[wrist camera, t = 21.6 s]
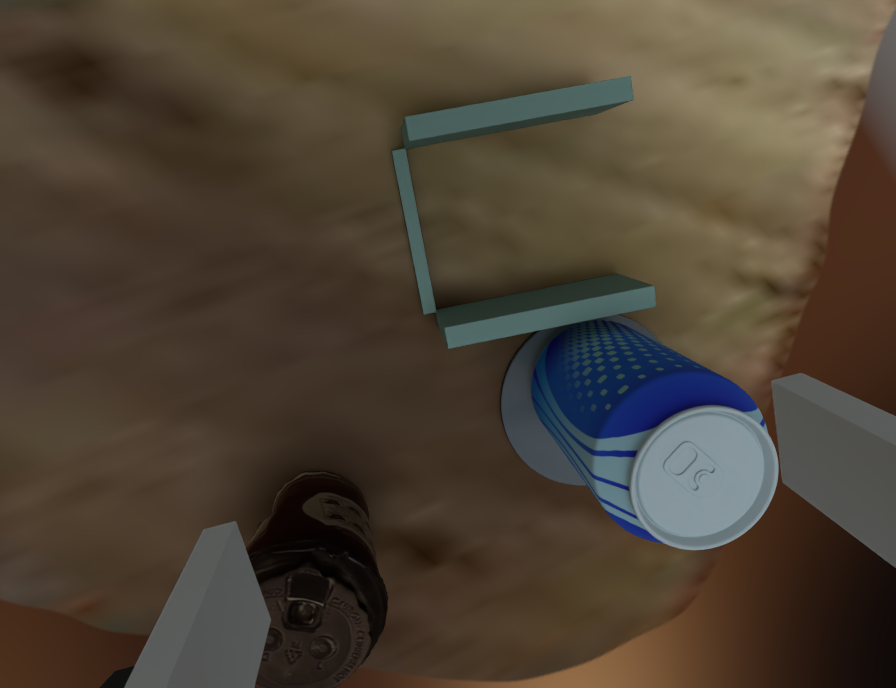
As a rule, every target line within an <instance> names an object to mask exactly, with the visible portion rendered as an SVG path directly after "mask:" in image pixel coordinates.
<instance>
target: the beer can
mask: <svg viewBox="0 0 896 688" xmlns="http://www.w3.org/2000/svg"><path fill="white" fill-rule="evenodd" d="M531 395H532V401H533V405H534V409H535V411H536V413H537V416H538V417H539V419H540V421H541V422H542V424H543V425H544V426H545V428H546V429H547V431H548V432H549V433H550V435H551V436H552V437H553V439H554V440H555V442H556V443H557V444H558V446H559V447H560V448H561V450H562V451H563V453H564V454H565V455H566V457H567V458H568V460H569V461H570V462H571V464H572V465H573V466H574V468H575V469H576V471H577V472H578V473H579V475H580V476H581V478H582V479H583V480H584V482H585V483H586V484H587V486H588V487H589V489H590V490H591V491H592V493H593V494H594V496H595V497H596V498H597V500H598V501H599V502H600V504H601V505H602V507H603V508H604V509H605V511H606V512H607V513H608V515H609V516H610V517H611V518H612V519H613V520H614V521H615V522H616V523H617V524H619V525H620V526H621V527H622V528H624V529H625V530H627V531H628V532H630V533H632V534H634V535H636V536H638V537H641V538H643V539H646V540H650V541H654V542H659V543H665V544H667V545H670V546H673V547H676V548H680V549H686V550H704V549H710V548H714V547H718V546H721V545H724V544H726V543H728V542H730V541H733V540H734V539H736V538H738V537H739V536H741V535H742V534H744V533H745V532H746V531H748V530H749V529H750V528H751V527H752V526H753V525H754V524H755V523H756V522H757V521H758V520H759V519H760V517H761V516H762V515H763V513H764V512H765V511H766V509H767V507H768V506H769V504H770V502H771V500H772V497H773V495H774V492H775V488H776V485H777V480H778V458H777V453H776V450H775V447H774V444H773V442H772V440H771V438H770V436H769V435H768V431H767V427H766V424H765V421H764V419H763V416H762V414H761V412H760V410H759V409H758V407H757V405H756V404H755V402H754V401H753V400H752V399H751V397H750V396H749V395H748V394H747V393H746V392H745V391H744V390H742V389H741V388H740V387H739V386H738V385H736V384H735V383H733V382H732V381H730V380H728V379H726V378H724V377H723V376H721V375H719V374H717V373H715V372H713V371H711V370H709V369H707V368H705V367H704V366H702V365H700V364H698V363H696V362H694V361H692V360H690V359H688V358H686V357H685V356H683V355H681V354H679V353H677V352H675V351H673V350H671V349H669V348H667V347H666V346H664V345H662V344H660V343H658V342H656V341H654V340H652V339H650V338H648V337H647V336H645V335H643V334H641V333H639V332H637V331H635V330H633V329H631V328H629V327H627V326H625V325H623V324H620V323H617V322H613V321H606V320H593V321H587V322H583V323H579V324H576V325H574V326H572V327H570V328H568V329H566V330H564V331H563V332H561V333H560V334H558V335H557V336H556V337H555V338H554V339H552V341H551V342H550V343H549V344H548V345H547V346H546V347H545V349H544V350H543V351H542V353H541V354H540V356H539V358H538V360H537V362H536V365H535V368H534V371H533V375H532V381H531Z"/></svg>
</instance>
